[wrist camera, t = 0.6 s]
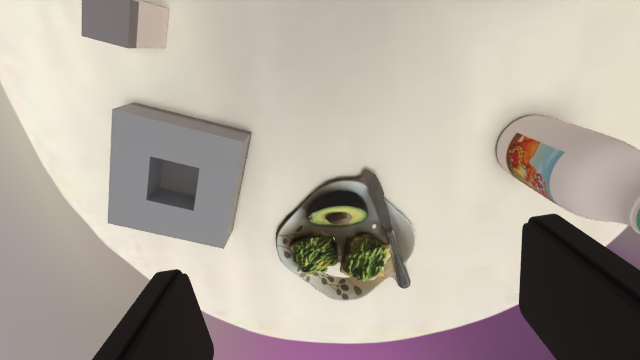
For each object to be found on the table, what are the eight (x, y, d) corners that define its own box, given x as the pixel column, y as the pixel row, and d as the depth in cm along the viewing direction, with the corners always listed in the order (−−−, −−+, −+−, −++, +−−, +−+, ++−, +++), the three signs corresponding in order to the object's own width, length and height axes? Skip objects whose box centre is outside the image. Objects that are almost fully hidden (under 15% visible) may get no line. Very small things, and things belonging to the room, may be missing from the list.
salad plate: (449, 244, 47) (462, 263, 43) (356, 316, 52) (360, 340, 48) (353, 150, 43) (357, 162, 38) (260, 239, 47) (254, 258, 43)
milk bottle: (517, 103, 40) (689, 152, 21) (571, 128, 41) (780, 195, 22) (482, 161, 43) (607, 249, 24) (533, 183, 44) (692, 283, 25)
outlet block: (134, 102, 40) (112, 109, 36) (251, 132, 41) (243, 142, 37) (127, 206, 45) (107, 223, 41) (232, 230, 46) (223, 248, 42)
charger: (131, -2, 36) (82, -14, 29) (169, 9, 36) (130, -1, 29) (129, 38, 38) (81, 35, 30) (165, 47, 38) (127, 48, 30)
